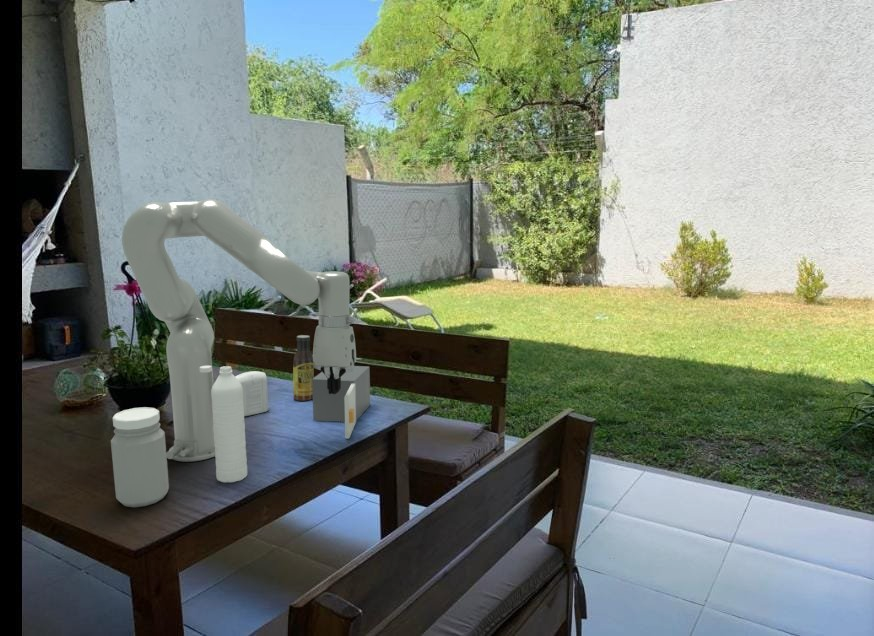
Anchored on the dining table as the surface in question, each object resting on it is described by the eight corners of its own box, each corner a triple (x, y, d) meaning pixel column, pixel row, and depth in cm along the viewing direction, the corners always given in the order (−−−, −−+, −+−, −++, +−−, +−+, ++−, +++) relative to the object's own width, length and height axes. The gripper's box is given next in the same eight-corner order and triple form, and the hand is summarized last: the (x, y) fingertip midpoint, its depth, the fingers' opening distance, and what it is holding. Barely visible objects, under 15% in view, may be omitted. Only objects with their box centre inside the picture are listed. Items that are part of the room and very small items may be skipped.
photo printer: (263, 408, 182) (261, 367, 180) (270, 411, 179) (268, 370, 177) (230, 415, 175) (228, 374, 173) (237, 419, 172) (235, 376, 170)
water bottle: (251, 470, 138) (245, 363, 134) (242, 483, 132) (236, 370, 127) (212, 470, 138) (205, 363, 134) (201, 483, 132) (194, 370, 127)
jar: (172, 501, 123) (165, 416, 120) (118, 513, 118) (109, 425, 115) (166, 483, 132) (160, 403, 128) (115, 493, 127) (107, 410, 124)
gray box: (355, 423, 169) (354, 378, 167) (308, 420, 171) (306, 376, 169) (370, 405, 185) (369, 363, 182) (326, 402, 187) (325, 362, 185)
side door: (359, 421, 169) (359, 383, 167) (353, 438, 156) (352, 397, 154) (352, 421, 169) (351, 383, 167) (345, 438, 156) (343, 396, 154)
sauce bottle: (298, 403, 187) (295, 339, 183) (290, 398, 192) (287, 335, 188) (318, 399, 190) (316, 336, 187) (309, 394, 195) (307, 333, 192)
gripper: (367, 321, 154) (367, 391, 157) (312, 317, 157) (313, 386, 161) (356, 326, 147) (356, 399, 150) (299, 321, 150) (300, 393, 153)
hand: (334, 392), depth 155 cm, fingers closed
